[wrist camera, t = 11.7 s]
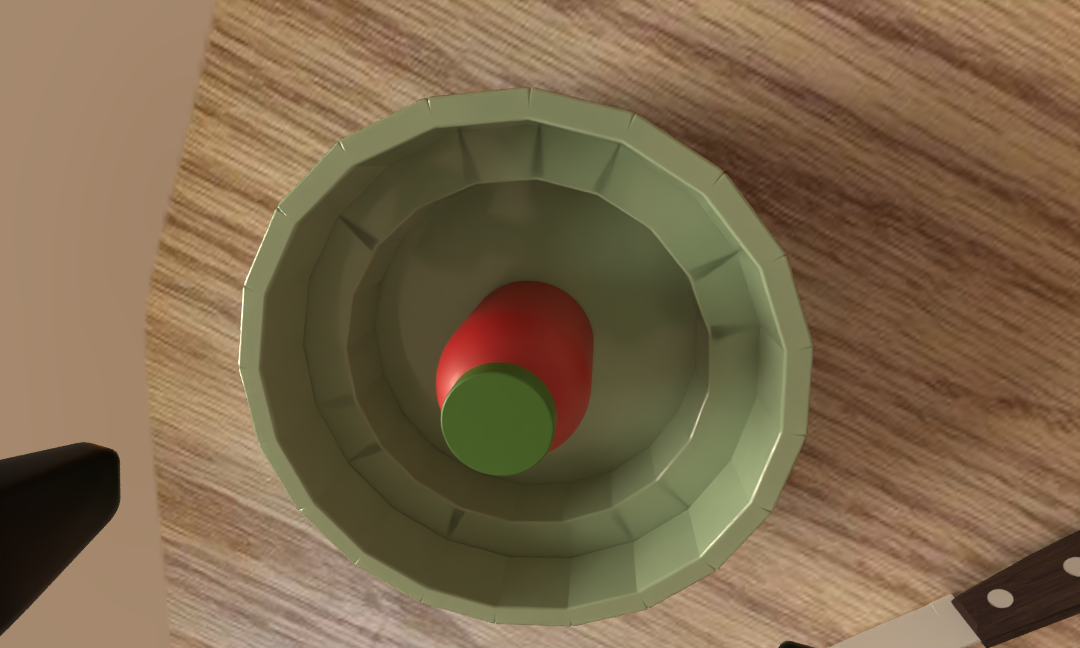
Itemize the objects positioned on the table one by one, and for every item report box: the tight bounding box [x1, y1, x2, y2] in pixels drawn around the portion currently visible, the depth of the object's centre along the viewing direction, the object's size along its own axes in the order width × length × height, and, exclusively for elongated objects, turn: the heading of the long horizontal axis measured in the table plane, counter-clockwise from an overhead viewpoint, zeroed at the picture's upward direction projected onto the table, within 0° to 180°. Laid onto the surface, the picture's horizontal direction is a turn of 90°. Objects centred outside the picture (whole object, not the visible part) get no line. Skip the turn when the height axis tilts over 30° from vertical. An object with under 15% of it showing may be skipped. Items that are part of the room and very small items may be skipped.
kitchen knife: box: [829, 531, 1080, 648], centre depth 16 cm, size 18×1×2 cm, turn 127°
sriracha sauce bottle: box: [436, 281, 594, 476], centre depth 13 cm, size 4×4×5 cm
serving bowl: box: [238, 87, 814, 626], centre depth 14 cm, size 13×13×4 cm
